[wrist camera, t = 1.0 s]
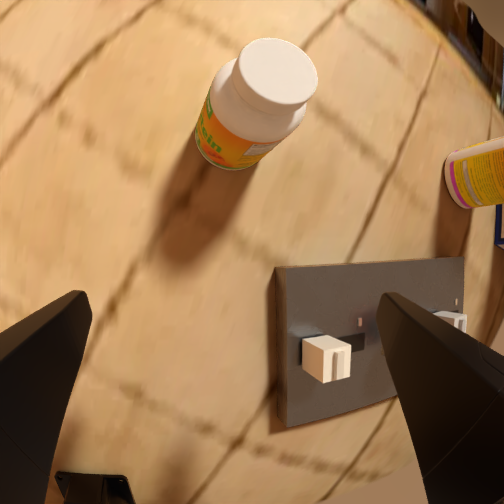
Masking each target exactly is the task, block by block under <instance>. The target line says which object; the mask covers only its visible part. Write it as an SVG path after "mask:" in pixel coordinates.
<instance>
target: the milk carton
mask: <svg viewBox="0 0 504 504" xmlns="http://www.w3.org/2000/svg"><path fill="white" fill-rule="evenodd" d="M494 244H495V245H497V246H498V247H500V248H502V249H503V250H504V203H503V204H496V228H495V243H494Z"/></svg>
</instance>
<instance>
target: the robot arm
mask: <svg viewBox="0 0 504 504" xmlns="http://www.w3.org/2000/svg"><path fill="white" fill-rule="evenodd" d="M91 322H92V311H91V307H90V304H89V301H88V297H87V294H86V293H85V292H84V291H80V290H73V291H71V292H69V293H67V294H65V295H64V296H62V297H60V298H58V299H57V300H55V301H53V302H51V303H50V304H48V305H46V306H45V307H43V308H41V309H39V310H38V311H36V312H34V313H33V314H31V315H29V316H28V317H26V318H24V319H23V320H21V321H19V322H18V323H16V324H14V325H13V326H11V327H9V328H8V329H6V330H5V331H3V332H1V333H0V504H44V503H45V497H46V492H47V486H48V481H49V477H48V476H50V471H51V466H52V462H53V458H54V453H55V449H56V445H57V441H58V437H59V434H60V430H61V426H62V422H63V419H64V415H65V412H66V408H67V405H68V402H69V399H70V395H71V392H72V389H73V386H74V383H75V380H76V377H77V374H78V371H79V368H80V365H81V361H82V358H83V354H84V350H85V346H86V342H87V338H88V334H89V330H90V326H91ZM376 324H377V327H378V331H379V335H380V339H381V343H382V347H383V351H384V356H385V359H386V363H387V366H388V369H389V371H390V374H391V377H392V380H393V383H394V386H395V389H396V392H397V395H398V398H399V401H400V404H401V407H402V410H403V413H404V416H405V419H406V422H407V426H408V429H409V432H410V435H411V439H412V442H413V446H414V449H415V453H416V456H417V460H418V463H419V467H420V470H421V475H422V477H423V483H424V486H425V490H426V495H427V499H428V504H504V356H502V355H501V354H499V353H497V352H496V351H494V350H492V349H491V348H489V347H487V346H486V345H484V344H482V343H481V342H478V341H477V340H476V339H474V338H473V337H471V336H469V335H468V334H466V333H464V332H463V331H461V330H459V329H458V328H456V327H454V326H453V325H451V324H449V323H448V322H446V321H444V320H443V319H441V318H439V317H438V316H436V315H434V314H433V313H431V312H429V311H428V310H426V309H424V308H422V307H421V306H419V305H417V304H416V303H414V302H412V301H410V300H409V299H407V298H405V297H404V296H402V295H400V294H398V293H397V292H384V293H383V294H382V295H381V298H380V301H379V305H378V308H377V312H376ZM59 476H60V477H62V478H60V477H59ZM55 479H56V482H57V484H58V486H59V488H60V491H61V493H62V495H63V497H64V504H136V503H135V500H134V497H133V494H132V491H131V488H130V485H129V482H128V479H127V477H125V476H123V475H103V474H83V473H70V472H60V471H58V472H56V473H55ZM120 480H123V481H120Z"/></svg>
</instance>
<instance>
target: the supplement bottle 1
mask: <svg viewBox="0 0 504 504" xmlns="http://www.w3.org/2000/svg"><path fill="white" fill-rule="evenodd" d="M317 82H318V78H317V72H316V69H315V66H314V64H313V63H312V61H311V59H310V58H309V57H308V56H307V55H306V54H305V53H304V52H303V51H302V50H301V49H300V48H298V47H297V46H295V45H293V44H292V43H290V42H287V41H285V40H281V39H277V38H261V39H257V40H254V41H252V42H250V43H249V44H247V45H246V46H245V47H244V48H243V49H242V51H241V53H240V54H239V56H238V57H237V58H235V59H233V60H231V61H229V62H228V63H226V64H225V65H224V66H222V67H221V68H220V70H219V71H218V72H217V74H216V75H215V77H214V79H213V82H212V84H211V86H210V89H209V92H208V95H207V97H206V100H205V102H204V105H203V108H202V110H201V113H200V116H199V118H198V121H197V124H196V129H195V140H196V144H197V147H198V149H199V151H200V153H201V154H202V155H203V157H204V158H205V159H206V160H207V161H209V162H210V163H211V164H213V165H214V166H216V167H219V168H221V169H225V170H241V169H245V168H248V167H250V166H252V165H254V164H255V163H257V162H258V161H259V160H260V159H262V158H263V157H264V156H265V155H266V154H267V153H269V152H270V151H271V150H272V149H273V148H274V147H275V146H277V145H278V144H279V143H280V142H281V141H282V140H284V139H285V138H286V137H287V136H288V135H290V134H291V133H292V132H293V131H294V130H295V129H296V128H297V127H298V126H299V124H300V123H301V121H302V119H303V117H304V114H305V111H306V102H307V101H308V100H309V99H310V98H311V97H312V95H313V94H314V92H315V90H316V87H317Z"/></svg>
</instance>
